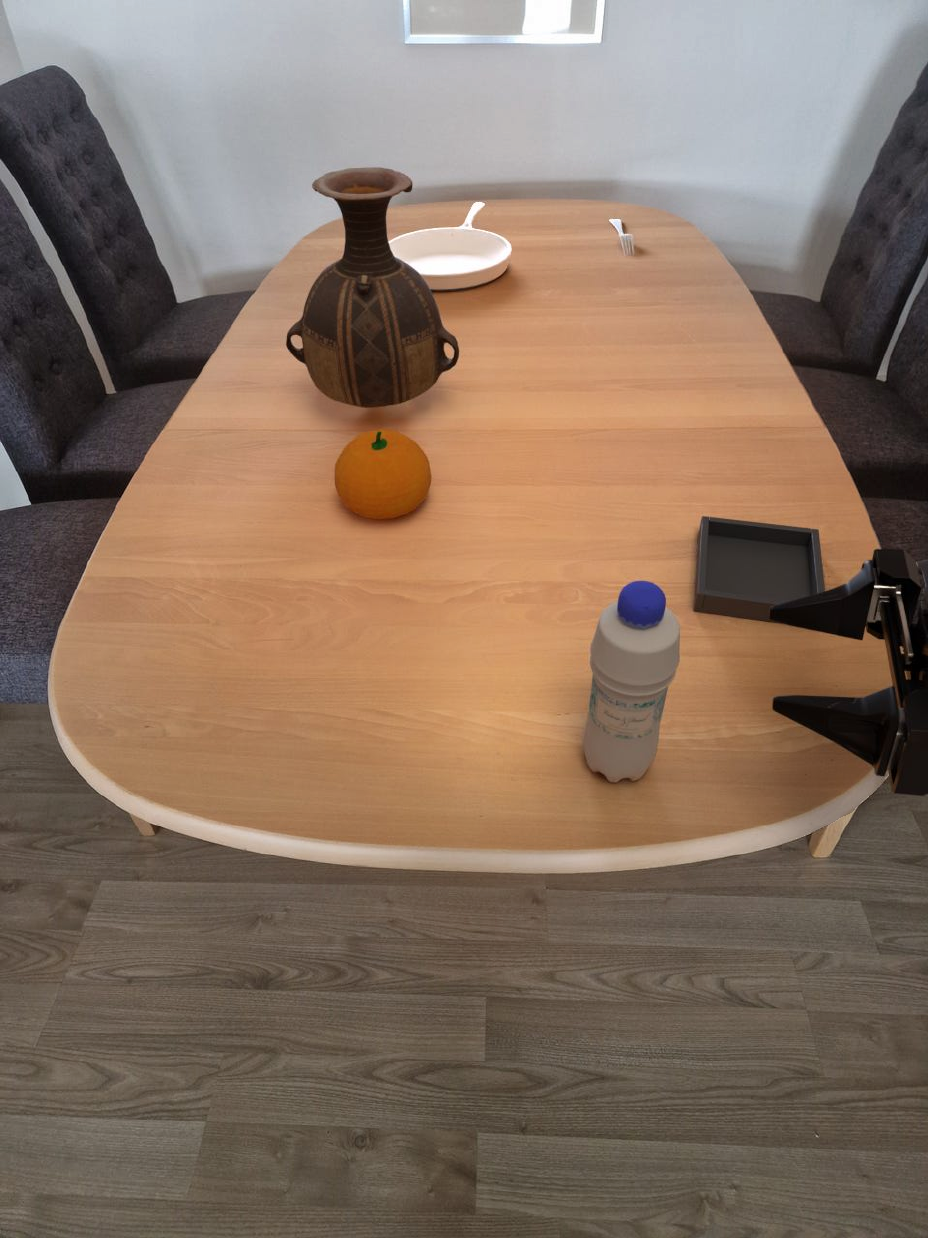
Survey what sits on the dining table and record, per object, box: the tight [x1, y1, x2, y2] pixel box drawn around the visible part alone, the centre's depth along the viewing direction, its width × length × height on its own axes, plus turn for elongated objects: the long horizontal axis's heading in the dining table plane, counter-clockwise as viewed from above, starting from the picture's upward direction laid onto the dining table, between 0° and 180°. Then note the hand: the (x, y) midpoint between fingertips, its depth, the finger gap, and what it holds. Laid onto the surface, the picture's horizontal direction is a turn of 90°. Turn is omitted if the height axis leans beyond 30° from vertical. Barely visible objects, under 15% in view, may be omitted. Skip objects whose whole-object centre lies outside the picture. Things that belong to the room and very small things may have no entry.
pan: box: [388, 201, 513, 292], centre depth 158 cm, size 25×38×5 cm, turn 164°
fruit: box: [333, 428, 432, 520], centre depth 97 cm, size 12×12×10 cm
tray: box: [693, 515, 826, 625], centre depth 87 cm, size 13×14×2 cm
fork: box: [608, 218, 635, 257], centre depth 164 cm, size 3×21×3 cm, turn 0°
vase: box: [285, 166, 460, 409], centre depth 107 cm, size 23×19×30 cm
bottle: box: [582, 580, 681, 783], centre depth 64 cm, size 7×7×20 cm
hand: (770, 655), depth 58 cm, fingers open, 9 cm apart
